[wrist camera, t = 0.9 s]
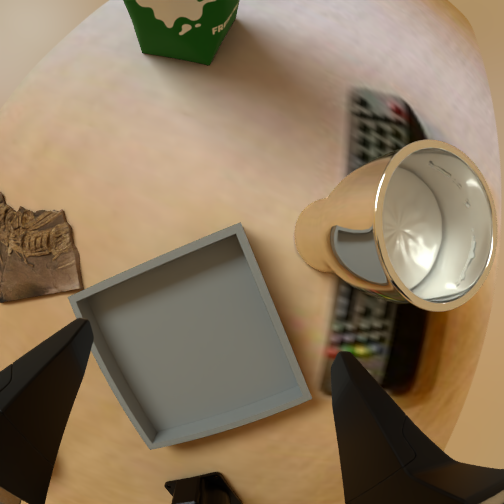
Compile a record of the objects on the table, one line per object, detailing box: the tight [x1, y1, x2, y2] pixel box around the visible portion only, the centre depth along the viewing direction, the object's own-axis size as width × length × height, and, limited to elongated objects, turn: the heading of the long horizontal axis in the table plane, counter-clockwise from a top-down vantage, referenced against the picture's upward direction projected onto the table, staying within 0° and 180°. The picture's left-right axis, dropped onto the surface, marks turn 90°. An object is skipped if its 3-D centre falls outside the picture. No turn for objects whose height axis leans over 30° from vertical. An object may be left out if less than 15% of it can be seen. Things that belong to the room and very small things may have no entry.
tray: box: [68, 222, 312, 450], centre depth 23 cm, size 15×15×2 cm
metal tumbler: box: [294, 140, 497, 312], centre depth 17 cm, size 7×7×15 cm
